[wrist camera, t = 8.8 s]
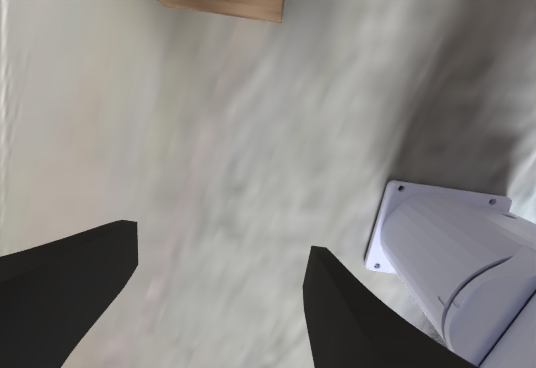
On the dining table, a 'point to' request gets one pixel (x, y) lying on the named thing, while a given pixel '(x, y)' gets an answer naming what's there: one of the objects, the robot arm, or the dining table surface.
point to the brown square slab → (234, 8)
